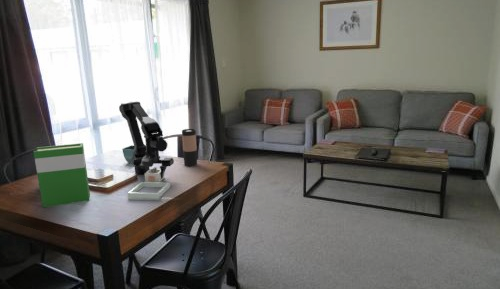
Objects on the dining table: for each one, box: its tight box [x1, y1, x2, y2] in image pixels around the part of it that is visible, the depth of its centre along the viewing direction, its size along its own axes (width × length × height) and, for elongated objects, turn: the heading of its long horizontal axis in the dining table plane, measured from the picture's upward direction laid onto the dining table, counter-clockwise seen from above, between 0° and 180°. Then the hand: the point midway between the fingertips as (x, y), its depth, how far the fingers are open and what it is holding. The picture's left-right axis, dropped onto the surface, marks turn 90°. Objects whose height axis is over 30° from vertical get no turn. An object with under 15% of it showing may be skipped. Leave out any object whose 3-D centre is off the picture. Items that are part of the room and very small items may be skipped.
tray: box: [127, 181, 171, 201], centre depth 160 cm, size 14×14×3 cm
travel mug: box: [181, 128, 198, 167], centre depth 201 cm, size 8×8×20 cm
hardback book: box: [33, 142, 91, 208], centre depth 152 cm, size 18×7×24 cm, turn 111°
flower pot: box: [122, 144, 134, 164], centre depth 209 cm, size 9×9×9 cm
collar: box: [144, 168, 165, 182], centre depth 174 cm, size 7×9×4 cm
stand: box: [151, 166, 170, 183], centre depth 174 cm, size 10×10×7 cm
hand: (154, 178), depth 176 cm, fingers closed on collar, 7 cm apart
